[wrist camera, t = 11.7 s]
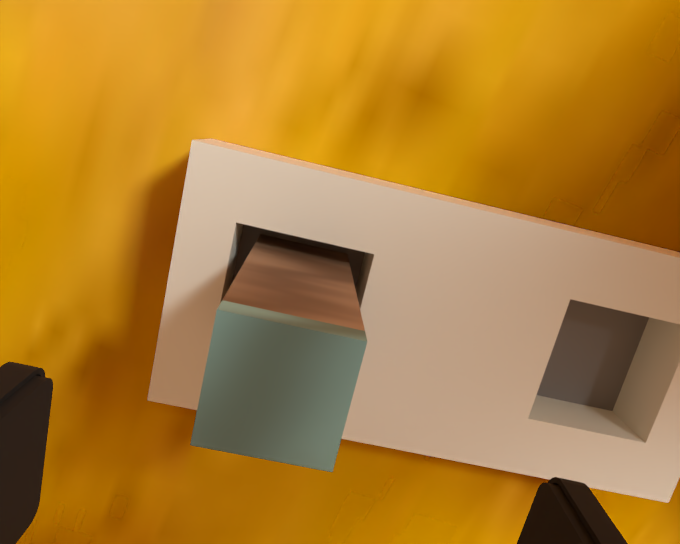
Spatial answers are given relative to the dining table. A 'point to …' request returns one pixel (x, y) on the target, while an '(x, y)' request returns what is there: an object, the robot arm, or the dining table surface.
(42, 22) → the dining table surface
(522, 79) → the dining table surface
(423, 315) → the socket panel
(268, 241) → the plug peg
